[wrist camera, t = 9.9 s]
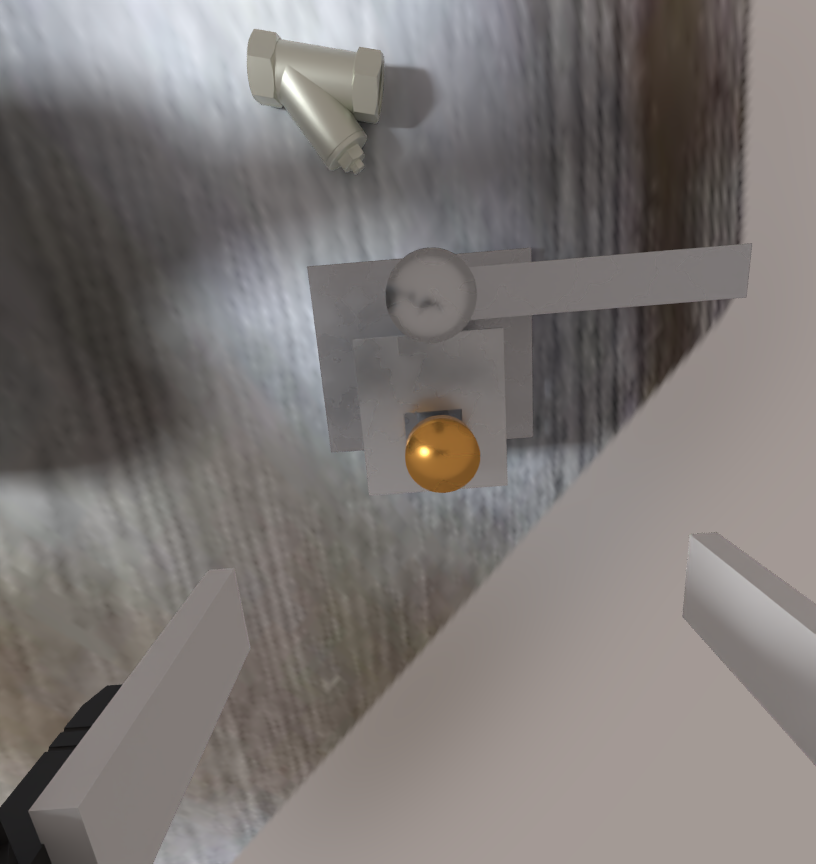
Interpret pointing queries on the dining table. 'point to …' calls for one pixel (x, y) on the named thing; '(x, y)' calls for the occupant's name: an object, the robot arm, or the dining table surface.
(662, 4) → the dining table surface
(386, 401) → the grey lever mechanism
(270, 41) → the pipe fitting
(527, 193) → the dining table surface
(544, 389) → the dining table surface
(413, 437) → the gold knobbed rod
